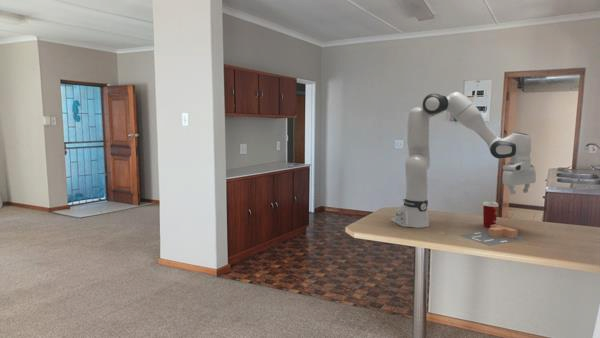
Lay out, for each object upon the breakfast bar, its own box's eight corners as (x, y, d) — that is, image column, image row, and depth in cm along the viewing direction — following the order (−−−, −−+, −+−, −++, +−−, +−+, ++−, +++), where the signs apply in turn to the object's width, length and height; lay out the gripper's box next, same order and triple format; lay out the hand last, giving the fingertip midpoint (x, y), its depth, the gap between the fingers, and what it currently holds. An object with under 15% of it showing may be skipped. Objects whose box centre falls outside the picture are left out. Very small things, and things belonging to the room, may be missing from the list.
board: (458, 237, 200) (458, 234, 199) (494, 231, 210) (494, 229, 210) (489, 247, 183) (489, 245, 183) (526, 241, 194) (527, 238, 194)
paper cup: (499, 230, 212) (500, 204, 210) (483, 229, 214) (484, 203, 212) (495, 226, 220) (496, 201, 218) (479, 226, 221) (481, 200, 220)
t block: (481, 234, 202) (481, 226, 201) (495, 232, 206) (496, 224, 205) (502, 240, 191) (502, 232, 190) (517, 238, 195) (517, 230, 195)
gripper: (528, 163, 207) (527, 190, 208) (500, 166, 198) (499, 194, 199) (540, 164, 201) (538, 192, 203) (512, 167, 192) (511, 196, 194)
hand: (519, 193), depth 201 cm, fingers open, 8 cm apart
